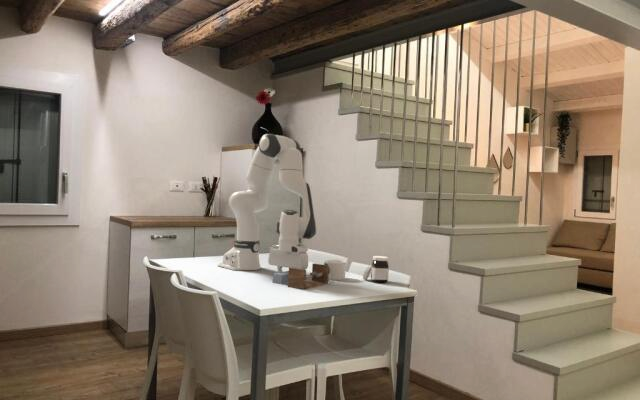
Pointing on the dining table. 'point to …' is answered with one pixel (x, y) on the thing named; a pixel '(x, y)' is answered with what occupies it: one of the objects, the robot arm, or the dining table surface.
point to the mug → (336, 269)
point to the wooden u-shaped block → (299, 277)
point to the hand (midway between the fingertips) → (287, 277)
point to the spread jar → (378, 270)
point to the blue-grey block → (281, 277)
